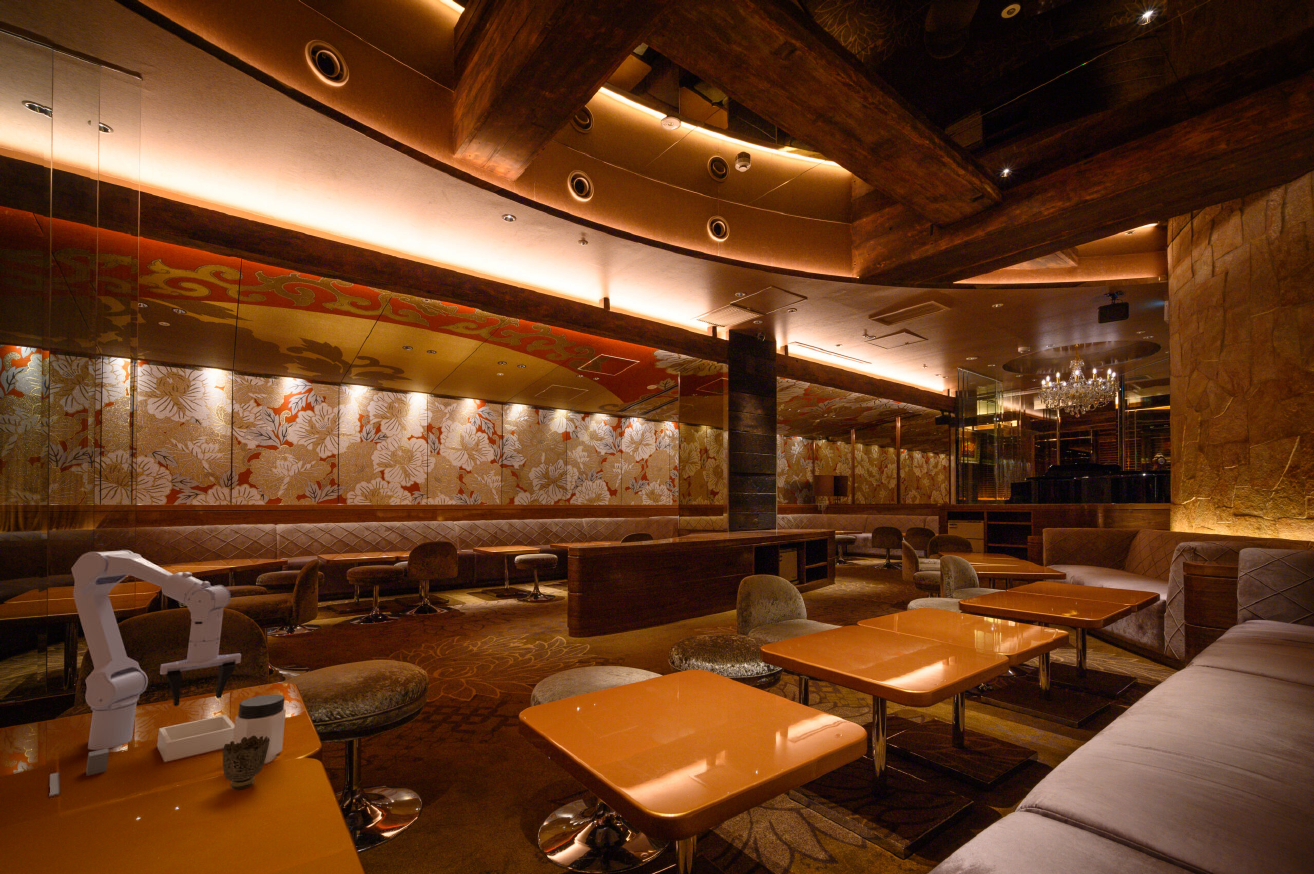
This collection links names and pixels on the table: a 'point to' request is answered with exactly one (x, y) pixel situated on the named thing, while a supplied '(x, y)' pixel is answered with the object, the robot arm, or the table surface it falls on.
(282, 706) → the jar
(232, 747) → the cup
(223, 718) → the box
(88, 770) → the lid
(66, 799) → the table surface
